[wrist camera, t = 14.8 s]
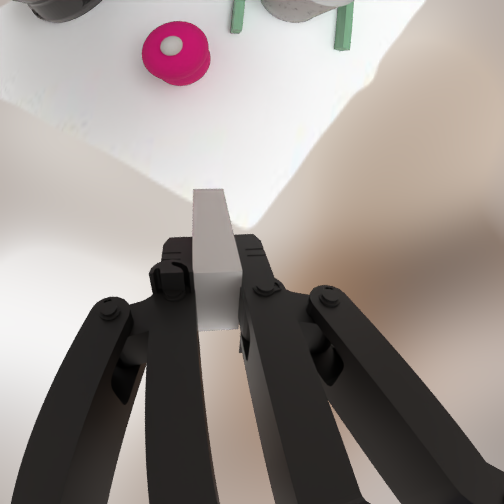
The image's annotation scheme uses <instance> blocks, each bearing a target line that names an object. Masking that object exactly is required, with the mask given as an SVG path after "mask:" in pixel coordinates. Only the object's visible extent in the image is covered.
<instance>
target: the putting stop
mask: <svg viewBox="0 0 504 504" xmlns="http://www.w3.org/2000/svg"><path fill="white" fill-rule="evenodd" d="M244 6H245V0H234V5H233V15H232V25H231V33H238V34H239V33H240V32H241V31H242V25H243V15H244ZM353 6H354V1H353V2H351V3H350V4H347V5H344V6H341V7H338V12H337V24H336V36H335V46H334V49H336V50H339V51H344V50H350V43H351V33H352V20H353Z"/></svg>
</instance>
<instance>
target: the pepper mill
mask: <svg viewBox="0 0 504 504" xmlns="http://www.w3.org/2000/svg"><path fill="white" fill-rule="evenodd" d="M142 60H143V63H144V65H145V67H146V69H147V70H148V71H149V72H150V73H151V74H153V75H154V76H156V77H158V78H160V79H162V80H164V81H165V82H167V83H169V84H172V85H176V86H183V85H189V84H191V83H194V82H196V81H197V80H199V79H200V78H201V77H202V76H204V74H205V73H206V72H207V70H208V68H209V65H210V52H209V50H208V41H207V38H206V36H205V34H204V33H203V32H202V31H201V30H200V29H199V28H198V27H197V26H195V25H193V24H191V23H188V22H182V21H174V22H169V23H166V24H163V25H161V26H159V27H158V28H156V29H155V30H153V31H152V32H151V33H150V34H149V36H148V37H147V38H146V40H145V42H144V45H143V49H142Z"/></svg>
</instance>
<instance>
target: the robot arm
mask: <svg viewBox="0 0 504 504" xmlns="http://www.w3.org/2000/svg"><path fill="white" fill-rule="evenodd" d="M13 1H18V2H22V3H26V4H28V6H29V7H30V8H31V9H32V11H33V13H34V14H35V15H36V16H37V17H38V18H40V19H42V20H45V21H49V22H54V23H59V22H65V21H69V20H72V19H75V18H77V17H79V16H81V15H83V14H85V13H86V12H88V11H89V10H91V9H92V8H93V7H95V6H96V5H97V4H98V3H99V2H100V1H102V0H13ZM192 231H193V233H192V235H193V236H192V237H174V238H169V239H168V240H167V241H166V242H165V244H164V245H163V252H162V259H161V262H159V263H157V264H156V265H154V266H153V267H152V268H151V270H150V272H149V277H150V282H151V287H152V292H153V295H152V296H151V297H149V298H147V299H146V300H143V301H141V302H137V303H134V304H130V305H129V304H128V303H127V302H126V301H125V300H124V299H122V298H119V297H108V298H104V299H102V300H100V301H99V302H97V303H96V304H95V305H94V306H93V308H92V309H91V311H90V312H89V314H88V316H87V318H86V320H85V321H84V323H83V325H82V327H81V328H80V330H79V332H78V334H77V335H76V337H75V339H74V341H73V343H72V345H71V347H70V348H69V350H68V352H67V354H66V356H65V358H64V360H63V362H62V364H61V366H60V368H59V370H58V372H57V374H56V376H55V378H54V381H53V383H52V385H51V387H50V389H49V391H48V394H47V396H46V398H45V400H44V403H43V405H42V407H41V410H40V412H39V415H38V417H37V420H36V422H35V425H34V427H33V430H32V433H31V436H30V438H29V441H28V444H27V447H26V450H25V453H24V456H23V459H22V463H21V466H20V469H19V473H18V476H17V480H16V484H15V488H14V492H13V496H12V501H11V504H107V502H108V498H109V493H110V489H111V484H112V480H113V476H114V472H115V468H116V464H117V460H118V456H119V452H120V449H121V445H122V442H123V438H124V434H125V431H126V427H127V424H128V421H129V417H130V414H131V411H132V407H133V404H134V401H135V397H136V395H137V391H138V388H139V385H140V382H141V379H142V376H143V373H144V370H145V367H146V364H147V367H146V392H145V442H146V443H145V444H146V468H147V480H148V481H147V482H148V493H149V504H220V502H219V497H218V491H217V486H216V480H215V475H214V468H213V461H212V454H211V447H210V440H209V433H208V426H207V417H206V408H205V400H204V391H203V381H202V369H201V358H200V345H199V335H198V331H215V330H231V329H238V325H240V330H241V336H240V349H239V353H243V359H244V364H245V369H246V374H247V378H248V384H249V388H250V393H251V398H252V403H253V408H254V413H255V417H256V422H257V427H258V431H259V436H260V440H261V445H262V449H263V453H264V458H265V462H266V467H267V471H268V475H269V480H270V484H271V488H272V492H273V496H274V500H275V504H370V503H369V502H367V501H366V500H365V499H364V498H363V497H362V495H361V492H360V490H359V487H358V484H357V481H356V478H355V475H354V472H353V469H352V466H351V464H350V461H349V458H348V455H347V452H346V449H345V446H344V444H343V441H342V438H341V435H340V432H339V430H338V427H337V424H336V421H335V419H334V416H333V413H332V411H331V408H330V405H329V402H330V404H331V405H332V407H333V408H334V409H335V411H336V412H337V414H338V415H339V417H340V418H341V420H342V421H343V423H344V424H345V425H346V427H347V428H348V430H349V431H350V432H351V434H352V435H353V437H354V438H355V440H356V441H357V443H358V444H359V445H360V447H361V448H362V450H363V451H364V453H365V454H366V455H367V457H368V458H369V460H370V461H371V463H372V464H373V465H374V467H375V468H376V470H377V471H378V473H379V474H380V475H381V477H382V478H383V479H384V481H385V482H386V484H387V485H388V486H389V488H390V489H391V490H392V492H393V493H394V495H395V496H396V497H397V499H398V500H399V501H400V503H401V504H504V472H503V471H501V470H499V469H497V468H496V467H494V466H492V465H490V464H488V463H487V462H486V461H485V460H484V459H483V457H482V456H481V455H480V453H479V452H478V451H477V449H476V448H475V447H474V445H473V444H472V443H471V441H470V440H469V439H468V437H467V436H466V435H465V433H464V432H463V431H462V430H461V428H460V427H459V426H458V424H457V423H456V422H455V421H454V419H453V418H452V417H451V416H450V414H449V413H448V412H447V411H446V409H445V408H444V407H443V406H442V405H441V403H440V402H439V401H438V400H437V398H436V397H435V396H434V395H433V393H432V392H431V391H430V390H429V389H428V387H427V386H426V385H425V384H424V382H422V380H421V379H420V378H419V376H418V375H417V374H416V373H415V372H414V371H413V369H412V368H411V367H410V366H409V365H408V364H407V363H406V361H405V360H404V359H403V358H402V357H401V355H400V354H399V353H398V352H397V351H396V350H395V349H394V348H393V346H392V345H391V344H390V343H389V342H388V341H387V340H386V338H385V337H384V336H383V335H382V334H381V333H380V332H379V330H378V329H377V328H376V327H375V326H374V325H373V324H372V323H371V322H370V320H369V319H368V318H367V317H366V316H365V315H364V314H363V313H362V312H361V311H360V309H358V307H357V306H356V305H355V304H354V303H353V302H352V301H351V300H350V299H349V298H348V296H346V294H345V293H344V292H342V291H341V290H340V289H338V288H335V287H333V286H328V285H322V286H318V287H315V288H313V290H312V291H311V292H310V295H307V294H301V293H295V292H291V291H288V290H286V289H285V287H284V285H283V284H282V283H281V282H280V281H279V280H277V279H276V278H274V275H273V272H272V270H271V267H270V264H269V262H268V259H267V256H266V254H265V251H264V250H263V246H262V243H261V241H260V240H259V239H258V238H257V237H256V236H255V235H254V234H243V235H234V233H233V230H232V225H231V221H230V216H229V212H228V208H227V204H226V199H225V195H224V191H223V189H193V230H192ZM328 401H329V402H328Z"/></svg>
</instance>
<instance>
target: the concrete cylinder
mask: <svg viewBox="0 0 504 504" xmlns="http://www.w3.org/2000/svg"><path fill="white" fill-rule="evenodd" d="M261 1H262V4H263V6H264V7H265V8H266V10H267V11H268V12H269V13H270V14H272V15H273V16H275V17H276V18H278V19H280V20H283V21H286V22H291V23H300V22H305V21H308V20H310V19H312V18H313V17H316V16H318V15H320V14H323V13H325V12H327V11H330V10H332V9H335V8H337V7H341V6H344V5H347V4H350V3H351V2H353V1H354V0H261Z"/></svg>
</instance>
